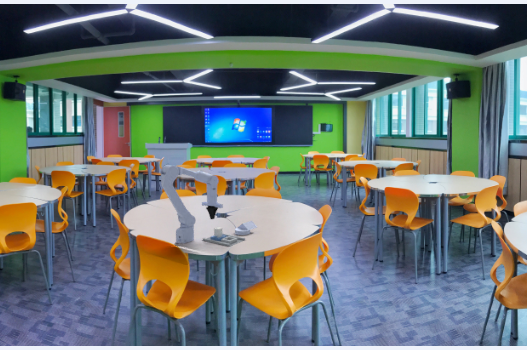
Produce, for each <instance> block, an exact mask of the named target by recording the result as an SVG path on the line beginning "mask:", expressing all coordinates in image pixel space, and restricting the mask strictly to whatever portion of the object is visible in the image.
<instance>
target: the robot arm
mask: <svg viewBox="0 0 527 350" xmlns="http://www.w3.org/2000/svg"><path fill="white" fill-rule="evenodd" d="M182 175H185V176H187V177H191V178H194V180H195V181H197V182H200V183H202V184H206V201H202V202H201V206H205V210H207V212H208V215H209V219H210V220H215V218H216V214H217V212H218V209H223V208H224V204H222V203H219V201H218V184H219V181H220V180H219V178H218V176H217V175H215V174H211V173H210V172H206V171H205V172H204V170H202V169H200V170H197V171H194V170H191V169H188V168H185V167H182V166H177V165H170V164H165V165H163V166H162V167H161V170H160V181H161V182H160V184H161V187H162V189H163V191H164V192H165V194H166V195H167V198H168V200H169V201H170V202H171V204H172V206H173V208H174V210H175V211H176V215H177V218H178V219H177V220H178V222H179V223H180V224H179V227H178V228H176V230H175V240H176V241H175V243H176V244H186V243H190V242H192V241H195V230H194V229H195V224H196V217H195V216H194V215H192V214H191V212H190V211H189V210H188V208H186V206H185V204H184V202H183V201H182V199H181V197H180V195H179V194H178V192H177V190H176V188H175V186H174V182H175V180H176V179H177V178H178V177H179V176H182Z"/></svg>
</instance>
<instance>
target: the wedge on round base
mask: <svg viewBox="0 0 527 350" xmlns="http://www.w3.org/2000/svg"><path fill="white" fill-rule="evenodd" d="M257 228H258V226H257V225H256V223H255V222H254V221H253V220H249V221H247V222H244V223H241V224H240V225H239V226H237V227H236V228H234V234H235V235H236V236H238V235H239V236H246V235H250V234H251V230H253V229H254V230H255V229H257Z"/></svg>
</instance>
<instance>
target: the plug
mask: <svg viewBox="0 0 527 350" xmlns="http://www.w3.org/2000/svg"><path fill="white" fill-rule="evenodd" d="M213 233H214V235H213V236H217V238H220V237H223V236H222V233H223V227H218V226H217V227H215V228H214V229H213Z"/></svg>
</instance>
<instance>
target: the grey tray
mask: <svg viewBox="0 0 527 350" xmlns="http://www.w3.org/2000/svg"><path fill="white" fill-rule="evenodd" d="M222 236H223V237H220V238H217V236H214V235H211V236H209V237H207V238H206V237H203V238H202V241H204V242H207V243H213V244H216V245H219V246H220V245H221V246H225V247H228V248H229V247H232V246H235V245H237V244H239V243H243V242H245V241H246V238H245V237H242V236H238V235H233V234H227V233H224V232H222Z"/></svg>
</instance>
